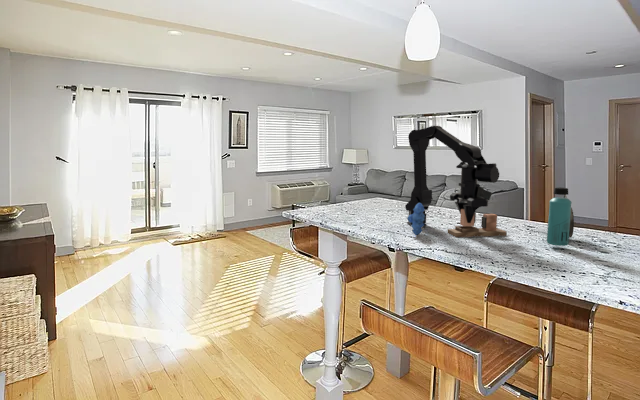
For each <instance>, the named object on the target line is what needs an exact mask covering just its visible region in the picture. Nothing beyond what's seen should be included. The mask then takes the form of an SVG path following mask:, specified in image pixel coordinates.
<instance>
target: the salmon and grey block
mask: <svg viewBox="0 0 640 400" xmlns="http://www.w3.org/2000/svg"><path fill="white" fill-rule="evenodd" d="M476 214H477V212H475V213H474V216H473V218H472V221H471V223H467V219H466V215H465V211H464V209H461V214H460V221H459V226H474V227H475V224H476V218H477V215H476Z"/></svg>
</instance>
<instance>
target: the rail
mask: <svg viewBox="0 0 640 400" xmlns="http://www.w3.org/2000/svg"><path fill="white" fill-rule="evenodd" d="M497 223H498V215H497V214H494V213H482V216H481V225H480V226H481V227H479V228H478V227H476V226H475V225H474V226H462V225H455V226H454V228H447V234H448V233H449V235H450V234H451V236H452V235H453V237H454V236H455V238H464V237H465V238H467V237H469V238H471V237H472V238H473V236H474V237H500V236H502V237H505V236H507V233H508V232H507V230H503V229H500V228H497Z"/></svg>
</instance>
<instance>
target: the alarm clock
mask: <svg viewBox="0 0 640 400" xmlns="http://www.w3.org/2000/svg"><path fill="white" fill-rule="evenodd" d="M563 198H568V195H563ZM574 225H575V217H574V210H573V207H571V217H570V229H569V231H570V237H569V238H572V237H573V236H574V230H575V229H574V228H575V226H574Z"/></svg>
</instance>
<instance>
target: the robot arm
mask: <svg viewBox="0 0 640 400" xmlns="http://www.w3.org/2000/svg"><path fill="white" fill-rule="evenodd" d="M434 139H436V140H437V141H439V142H440V143H442V144H443V145H444V146H447V148H449V149H451V150H452V151H453V152H454V154H455V156H456V157H457V158H458V160H460V162H459V163H458V164H457V165H456V166H455V167H456V169H461V172H460V173H461V174H460V182H458V186H459V187H460V190H459V192H452V193H451V194H450V195H449V200H450V201H455V200H456V201H455V202H454V204H455V205H456V208H457V210H458V212H459V214H460V215H461V209H464V211H465V215H466V219H467V223H471V221H472V218H473V216H474V213H476V211H477V210H478V209H479V208H482V207H488V206H489V201H490V200H491V197H492V194H493V192H492V191H488V190H487V189H484V187H482V186H481V184H479V183H480V182H481V183H489V184H490V183H491V184H492V183H493V184H495V183H497V182H498V180H499V178H500V171H499V169H498V167H497V163H494V162H493V163H488V162H487V161H486V159H485V158H484V156H483V155H482V150H481V149H480V147H478V146H475V145H473V144H471V143H466V142H465V141H464V142H463V141H462V140H460V139H459V138H458V137H456V136H454V135H453V134H452V133H450V132H449V131H447V130H446V129H444V128H443V127H442V126H441V125H431V126H428V127H424V128H421V129H413V130H411V131H410V132H409V133H408V143H409V147H410V148H411V150H412V152H413V154H412V155H413V177H414V178H413V179H414V187H413V189H412V191H411V193H410V199H409V201H408V202H407V203H406V204H405V205H404V207H405V211H406V212H408V216H409V215H411V214H413V213H414V211H413V209H414V208H415V206H416V204H418V203H421V204H422V205H423V207H424V209H425V210H424V211H423V212H422V213H423V214H424V215H425V217H424V219H425V220H424V221H423V223H424V226H427V213H426V211H428V210H429V207H430V205H431V204H432V201H433V190H432V189H429V188H428V186H427V184H428V183H427V153H426V152H427V149H428V147H429V145H430V140H434ZM478 182H479V183H478ZM406 224H408V225H409V226H411V225H412V224H413V223H410V222H409V221H408V220H407V222H406ZM424 226H423V227H424Z"/></svg>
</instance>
